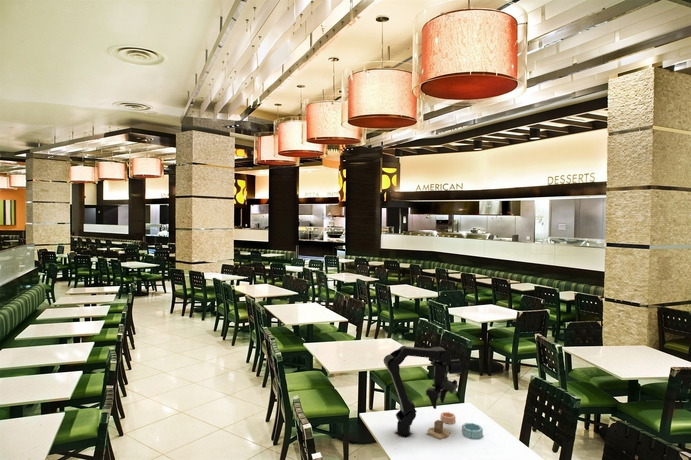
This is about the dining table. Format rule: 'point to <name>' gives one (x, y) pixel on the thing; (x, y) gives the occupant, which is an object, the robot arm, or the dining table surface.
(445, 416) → the small bowl
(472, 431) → the bowl
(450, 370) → the robot arm
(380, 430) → the dining table surface
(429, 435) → the mat
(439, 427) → the lid
